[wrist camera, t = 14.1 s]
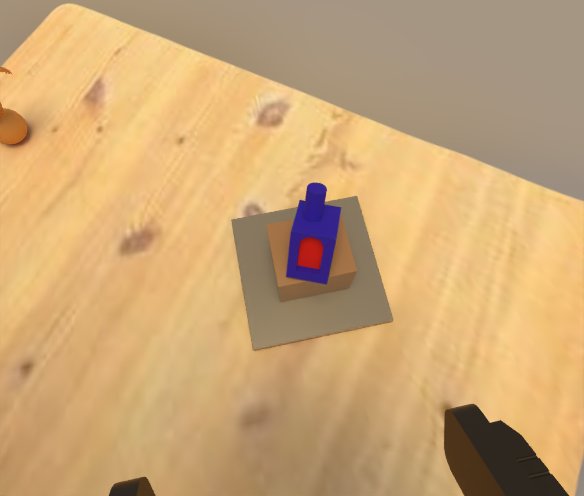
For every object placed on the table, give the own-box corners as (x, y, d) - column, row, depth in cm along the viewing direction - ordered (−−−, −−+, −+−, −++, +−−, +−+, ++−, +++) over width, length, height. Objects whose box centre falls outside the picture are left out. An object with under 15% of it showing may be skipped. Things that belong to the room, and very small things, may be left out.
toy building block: (332, 252, 37) (347, 179, 32) (326, 285, 34) (342, 210, 29) (294, 245, 38) (303, 171, 32) (285, 277, 35) (293, 201, 29)
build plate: (254, 350, 40) (245, 341, 33) (232, 223, 44) (221, 193, 38) (391, 322, 41) (409, 307, 34) (355, 200, 45) (365, 166, 39)
